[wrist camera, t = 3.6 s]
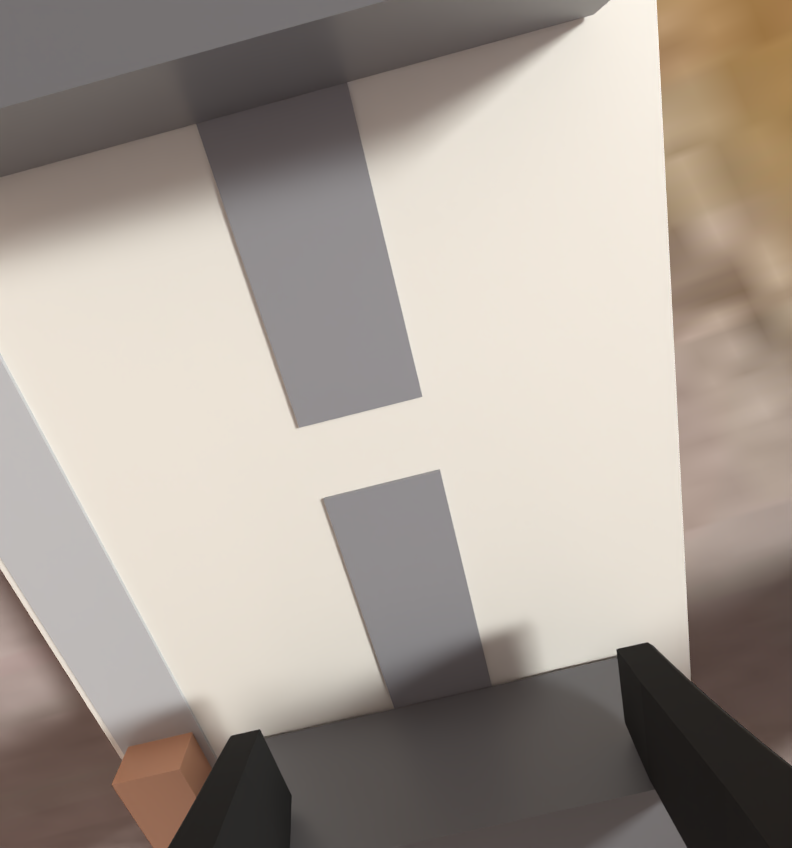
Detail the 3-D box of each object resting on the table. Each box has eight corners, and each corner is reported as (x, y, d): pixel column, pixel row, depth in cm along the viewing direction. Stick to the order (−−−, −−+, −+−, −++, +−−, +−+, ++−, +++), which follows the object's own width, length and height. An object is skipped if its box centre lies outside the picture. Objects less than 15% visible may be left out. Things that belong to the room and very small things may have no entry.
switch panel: (572, -301, 8) (679, -561, 5) (672, 881, 20) (723, 992, 17) (-269, -52, 9) (-563, -175, 6) (303, 960, 20) (293, 1080, 17)
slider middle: (649, 650, 13) (729, 773, 10) (657, 737, 14) (731, 869, 11) (242, 743, 13) (208, 888, 10) (281, 821, 14) (260, 970, 11)
